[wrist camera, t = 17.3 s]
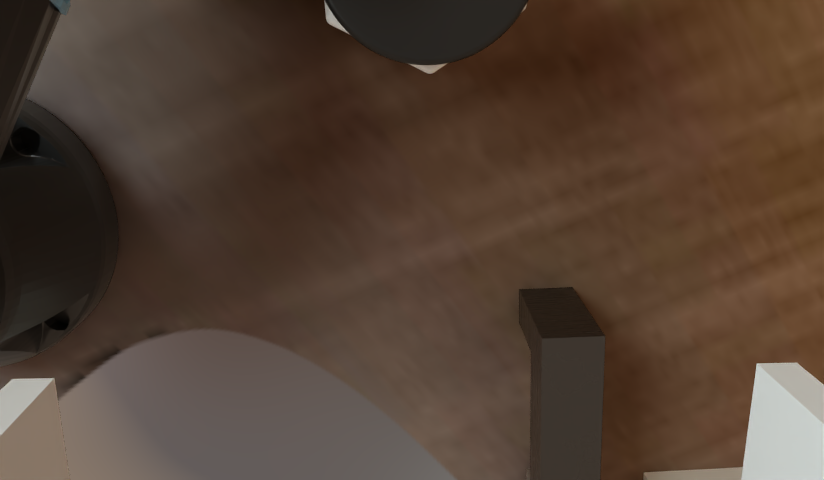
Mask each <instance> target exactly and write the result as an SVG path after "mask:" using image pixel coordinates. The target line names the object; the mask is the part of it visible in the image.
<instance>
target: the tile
mask: <svg viewBox="0 0 824 480" xmlns="http://www.w3.org/2000/svg"><path fill="white" fill-rule="evenodd" d="M742 470H743V467H736V468H717V469H699V470H680V471H662V472H644V475H643V480H741V478H742Z"/></svg>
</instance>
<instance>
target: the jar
mask: <svg viewBox="0 0 824 480" xmlns="http://www.w3.org/2000/svg"><path fill="white" fill-rule="evenodd" d="M527 2H528V0H324V3H325V14H326V20H327V22H328V24H330V25H331V26H333V27H335V28H337V29H339V30H341V31H343V32H345V33H347V34H349V35H351V36H352V37H353V38H355V39H356V40H357V41H358V42H360V43H361V44H362V45H364V46H365V47H367V48H368V49H370V50H372V51H373V52H375V53H377V54H379V55H381V56H384V57H386V58H389V59H392V60H394V61H398V62H402V63H407V64H409V65H411V66H413V67H415V68H417V69H419V70H421V71H423V72H425V73H428V74H432V73H434V72H436V71H437V70H439V69H440V68H442V67H443V66H444V65H446V64H447V63H451V62H455V61H458V60H461V59H464V58H467V57H469V56H472V55H474V54H476V53H478V52H480V51H481V50H483V49H485V48H486V47H488V46H489V45H491V44H492V43H493V42H495V41H496V40H497V39H498V38H500V37H501V36H502V35H503V34H504V33H505V32H506V31H507V30H508V29H509V28H510V27H511V26H512V24H513V23H514V22H515V21H516V19H517V18H518V17H519V15H520V14H521V12H523V11H524V10H525V9H526V6H527Z"/></svg>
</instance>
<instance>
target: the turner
mask: <svg viewBox="0 0 824 480" xmlns="http://www.w3.org/2000/svg"><path fill="white" fill-rule="evenodd" d="M519 324H520V326H521V328H522V331H523V333H524V336H525V338H526V341H527V343H528V346H529V348H530V350H531V419H530V469H526V480H600V470H601V441H602V413H603V385H604V357H605V335H604V334H603V332H602V331H601V329H600V328H599V326H598V325H597V323H596V322H595V320H594V319H593V317H592V316H591V314H590V313H589V311H588V310H587V308H586V307H585V305H584V304H583V302H582V301H581V300H580V298H579V297H578V295H577V294H576V292H575V291H574V289H573V288H572V287H569V288H544V289H519Z"/></svg>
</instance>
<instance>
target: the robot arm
mask: <svg viewBox="0 0 824 480" xmlns="http://www.w3.org/2000/svg"><path fill="white" fill-rule="evenodd" d="M69 8H70V0H0V367H1V366H6V365H10V364H14V363H17V362H20V361H23V360H26V359H28V358H31V357H33V356H35V355H37V354H39V353H41V352H43V351H45V350H47V349H48V348H50V347H52V346H53V345H55V344H56V343H58V342H59V341H60V340H62V339H63V338H64V337H65V336H67V335H68V334H69V333H70V332H71V331H72V330H73V329H74V328H76V327H77V326H78V325H79V324H80V323H81V322H82V321H83V320H84V319H85V318H86V317H87V316H88V315H89V314H90V313H91V312H92V311H93V310H94V308H95V307H96V306H97V304H98V303H99V301H100V300H101V298H102V296H103V295H104V293H105V291H106V289H107V287H108V285H109V282H110V280H111V277H112V274H113V271H114V268H115V263H116V259H117V251H118V224H117V216H116V211H115V206H114V202H113V199H112V196H111V193H110V190H109V187H108V185H107V182H106V180H105V178H104V176H103V174H102V172H101V170H100V168H99V166H98V165H97V163H96V161H95V160H94V158H93V157H92V155H91V154H90V153H89V151H88V150H87V148H86V147H85V146H84V145H83V144H82V142H81V141H80V140H79V139H78V138H77V137H76V136H75V135H74V133H73V132H72V131H71V130H69V129H68V128H67V127H66V126H65V125H64V124H63V123H62V122H61V121H59V120H58V119H57V118H56V117H54V116H53V115H52V114H50V113H49V112H48V111H46V110H45V109H43V108H41V107H40V106H38V105H37V104H35V103H33V102H31V101H29V100H27V99H26V97H27V94H28V92H29V89H30V87H31V85H32V82H33V80H34V77H35V75H36V73H37V70H38V68H39V65H40V63H41V60H42V58H43V56H44V53H45V51H46V48H47V46H48V44H49V41H50V39H51V36H52V34H53V31H54V29H55V27H56V24H57V22H58V19H59V17H60V15H61V14H63V15H67V12H68V10H69ZM0 480H70V477H69V470H68V464H67V457H66V450H65V444H64V437H63V431H62V424H61V417H60V411H59V404H58V398H57V391H56V385H55V378H33V379H12V380H11V381H9V382H8V383H7V384H6V385H5V386H4V387H3V388H2V389H1V390H0ZM741 480H824V385H823V384H822V383H821V382H820V381H818V380H817V379H816V378H815V377H813V376H812V375H811V374H810V373H809V372H807V371H806V370H805V369H804V368H802V367H801V366H800V365H799V364H798V363H757V367H756V374H755V381H754V389H753V396H752V404H751V411H750V418H749V426H748V433H747V441H746V448H745V455H744V463H743V470H742V478H741Z"/></svg>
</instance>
